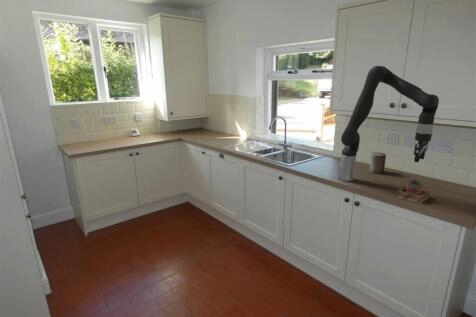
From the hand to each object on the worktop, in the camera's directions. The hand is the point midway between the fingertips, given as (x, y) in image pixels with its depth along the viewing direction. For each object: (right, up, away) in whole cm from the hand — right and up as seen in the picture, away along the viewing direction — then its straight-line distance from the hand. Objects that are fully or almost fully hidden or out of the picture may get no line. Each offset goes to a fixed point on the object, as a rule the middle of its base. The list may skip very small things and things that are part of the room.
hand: (419, 160), depth 161 cm
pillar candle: (0, -9, +50) cm, 51 cm away
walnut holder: (0, -21, +6) cm, 22 cm away
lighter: (0, -21, +6) cm, 22 cm away
